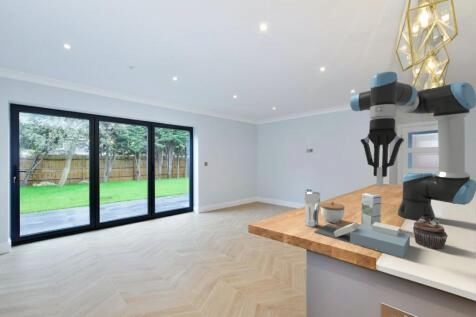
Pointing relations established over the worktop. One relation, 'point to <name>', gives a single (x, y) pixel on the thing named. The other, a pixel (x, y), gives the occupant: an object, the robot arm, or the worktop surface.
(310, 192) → the beer glass
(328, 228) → the mat
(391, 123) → the robot arm
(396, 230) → the rear tile
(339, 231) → the front tile
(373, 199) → the syrup box
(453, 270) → the worktop surface
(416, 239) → the cupcake
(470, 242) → the worktop surface
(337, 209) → the lidded jar
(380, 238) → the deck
